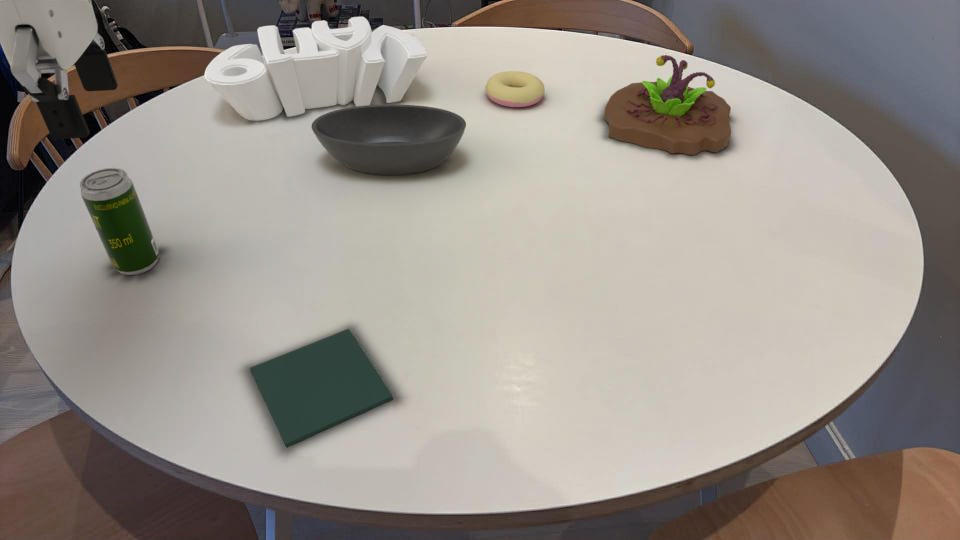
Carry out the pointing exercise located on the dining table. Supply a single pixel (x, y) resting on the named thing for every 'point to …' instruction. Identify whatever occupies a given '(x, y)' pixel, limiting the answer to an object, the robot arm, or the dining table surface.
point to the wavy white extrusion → (316, 69)
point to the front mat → (319, 386)
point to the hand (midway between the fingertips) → (87, 111)
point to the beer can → (119, 220)
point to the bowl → (390, 137)
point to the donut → (515, 89)
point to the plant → (670, 114)
